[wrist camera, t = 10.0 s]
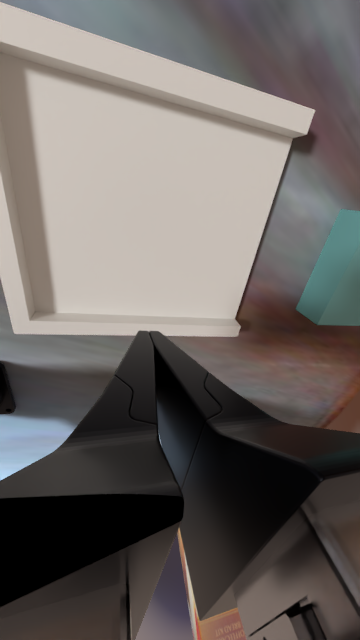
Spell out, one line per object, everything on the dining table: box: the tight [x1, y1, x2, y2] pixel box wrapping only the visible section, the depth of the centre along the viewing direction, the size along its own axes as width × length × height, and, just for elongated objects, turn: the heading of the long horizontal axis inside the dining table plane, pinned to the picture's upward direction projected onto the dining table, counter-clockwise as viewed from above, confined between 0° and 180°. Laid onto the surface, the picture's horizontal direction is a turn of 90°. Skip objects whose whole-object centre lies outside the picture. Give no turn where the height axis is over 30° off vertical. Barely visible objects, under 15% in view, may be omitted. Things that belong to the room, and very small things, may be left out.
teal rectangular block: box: [296, 209, 360, 326], centre depth 22 cm, size 10×8×4 cm
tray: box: [0, 2, 315, 337], centre depth 16 cm, size 17×19×2 cm
